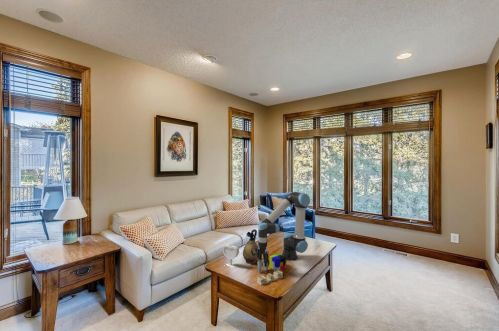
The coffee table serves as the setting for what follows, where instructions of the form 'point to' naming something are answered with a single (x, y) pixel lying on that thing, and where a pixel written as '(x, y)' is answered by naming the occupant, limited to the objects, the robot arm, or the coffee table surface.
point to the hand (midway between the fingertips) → (262, 268)
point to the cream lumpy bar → (269, 277)
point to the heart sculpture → (230, 253)
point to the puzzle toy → (277, 262)
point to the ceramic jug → (251, 248)
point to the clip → (260, 263)
